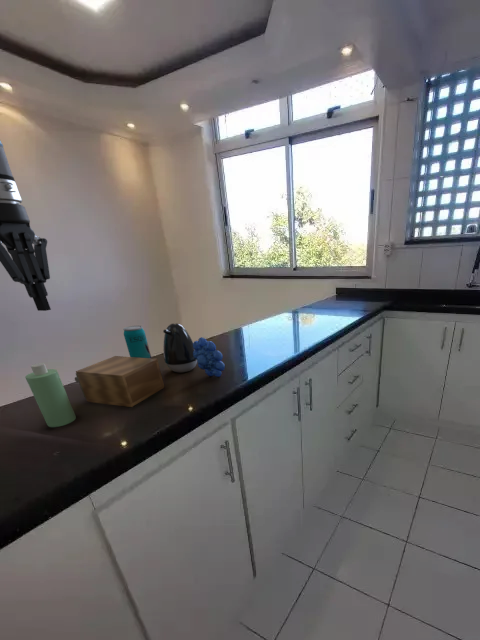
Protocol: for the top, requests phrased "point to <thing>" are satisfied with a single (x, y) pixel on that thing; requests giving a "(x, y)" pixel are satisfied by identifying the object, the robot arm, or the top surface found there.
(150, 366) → the cabinet
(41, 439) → the top surface
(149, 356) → the beverage can
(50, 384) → the soap bottle
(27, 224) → the robot arm
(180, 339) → the pump dispenser
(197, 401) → the top surface
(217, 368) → the grapes
